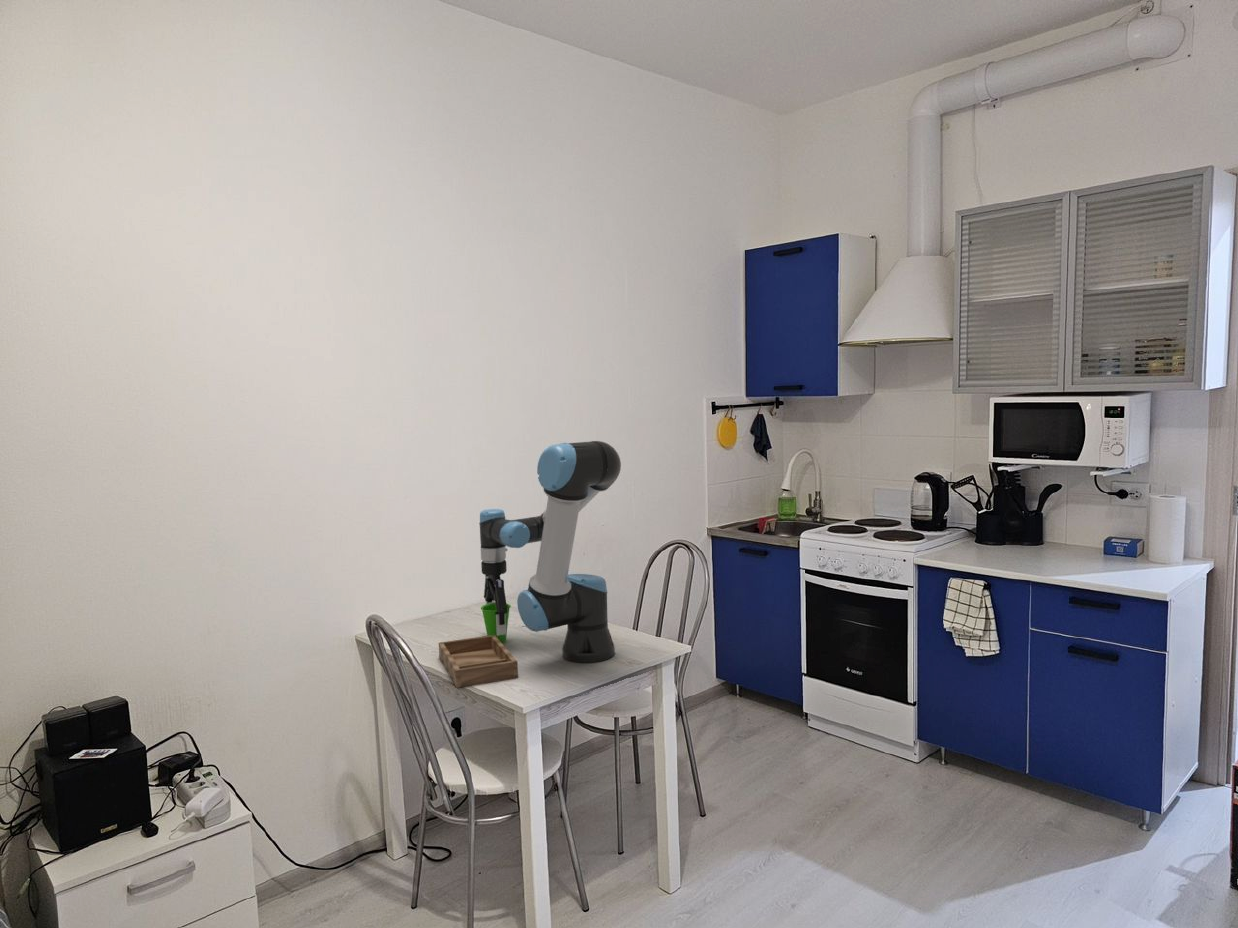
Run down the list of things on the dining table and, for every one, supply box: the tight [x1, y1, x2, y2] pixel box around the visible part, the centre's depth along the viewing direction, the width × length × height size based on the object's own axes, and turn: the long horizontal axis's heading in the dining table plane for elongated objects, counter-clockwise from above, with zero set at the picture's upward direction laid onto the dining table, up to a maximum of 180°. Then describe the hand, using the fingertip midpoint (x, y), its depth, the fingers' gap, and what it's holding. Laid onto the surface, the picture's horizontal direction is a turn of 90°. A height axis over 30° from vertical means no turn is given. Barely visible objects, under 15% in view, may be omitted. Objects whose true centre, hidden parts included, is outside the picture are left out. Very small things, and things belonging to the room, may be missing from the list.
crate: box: [438, 635, 519, 689], centre depth 227 cm, size 26×16×4 cm, turn 22°
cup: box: [480, 602, 512, 644], centre depth 249 cm, size 9×9×11 cm
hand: (496, 628), depth 250 cm, fingers open, 13 cm apart
